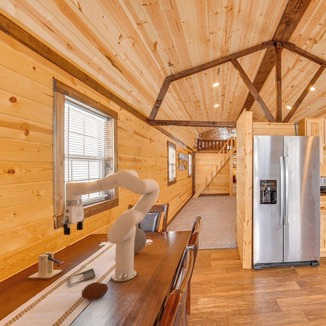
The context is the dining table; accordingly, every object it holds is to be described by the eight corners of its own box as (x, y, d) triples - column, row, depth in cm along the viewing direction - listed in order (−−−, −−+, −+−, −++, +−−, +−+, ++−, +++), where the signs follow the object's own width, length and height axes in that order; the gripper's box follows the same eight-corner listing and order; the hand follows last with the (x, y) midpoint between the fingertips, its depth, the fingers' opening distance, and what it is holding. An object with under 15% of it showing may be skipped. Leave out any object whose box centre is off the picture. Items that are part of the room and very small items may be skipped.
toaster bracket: (62, 272, 138) (62, 251, 138) (49, 279, 129) (49, 257, 129) (42, 272, 138) (42, 251, 138) (27, 279, 129) (28, 256, 129)
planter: (146, 250, 175) (146, 225, 176) (146, 253, 169) (146, 227, 169) (118, 253, 168) (119, 228, 168) (117, 257, 161) (117, 230, 162)
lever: (65, 264, 136) (67, 260, 136) (58, 267, 131) (60, 264, 131) (46, 256, 136) (48, 252, 136) (39, 259, 131) (40, 255, 131)
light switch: (93, 271, 138) (69, 280, 130) (93, 268, 138) (68, 277, 130) (95, 278, 130) (69, 288, 122) (95, 274, 129) (69, 284, 122)
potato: (106, 300, 110) (106, 284, 110) (79, 306, 105) (79, 289, 105) (108, 291, 118) (108, 276, 118) (83, 296, 113) (83, 281, 113)
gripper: (68, 205, 125) (68, 236, 125) (90, 200, 143) (90, 228, 142) (54, 205, 125) (54, 236, 125) (78, 200, 142) (78, 228, 142)
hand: (73, 232), depth 134 cm, fingers open, 9 cm apart
